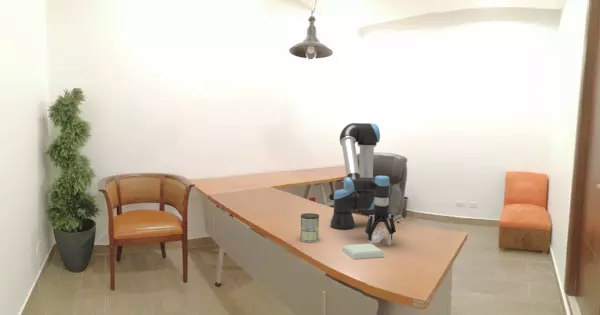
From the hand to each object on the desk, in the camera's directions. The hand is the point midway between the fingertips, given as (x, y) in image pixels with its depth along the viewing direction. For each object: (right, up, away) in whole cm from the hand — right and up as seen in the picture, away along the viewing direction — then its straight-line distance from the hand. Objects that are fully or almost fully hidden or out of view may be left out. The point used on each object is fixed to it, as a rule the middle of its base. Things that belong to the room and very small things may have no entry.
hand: (380, 246), depth 215 cm
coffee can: (-38, +1, +11) cm, 39 cm away
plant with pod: (+2, +4, +76) cm, 76 cm away
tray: (-12, -1, -14) cm, 18 cm away
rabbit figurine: (+1, 0, +7) cm, 7 cm away
